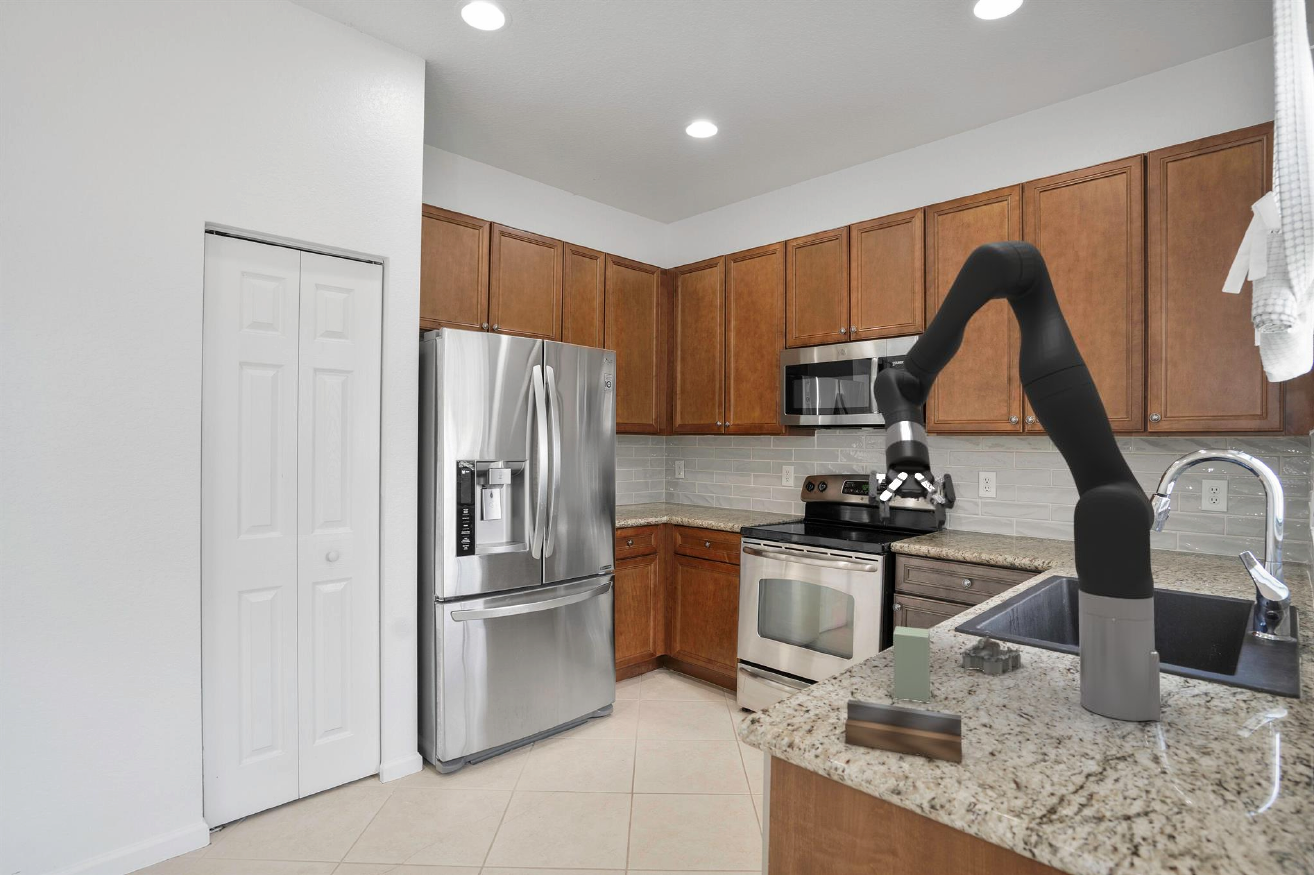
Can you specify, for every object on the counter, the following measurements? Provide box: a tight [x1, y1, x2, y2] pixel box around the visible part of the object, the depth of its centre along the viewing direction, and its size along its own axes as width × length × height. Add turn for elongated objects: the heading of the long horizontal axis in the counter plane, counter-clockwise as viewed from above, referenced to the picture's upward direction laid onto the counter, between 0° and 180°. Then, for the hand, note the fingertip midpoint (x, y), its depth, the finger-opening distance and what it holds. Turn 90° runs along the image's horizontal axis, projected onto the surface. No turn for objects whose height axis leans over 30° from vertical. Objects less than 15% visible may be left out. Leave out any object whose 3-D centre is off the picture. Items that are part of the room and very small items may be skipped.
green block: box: [892, 625, 931, 703], centre depth 105 cm, size 5×5×10 cm
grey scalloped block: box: [958, 635, 1024, 676], centre depth 119 cm, size 11×8×4 cm
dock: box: [844, 698, 963, 763], centre depth 90 cm, size 14×10×4 cm
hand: (913, 524), depth 114 cm, fingers open, 8 cm apart
